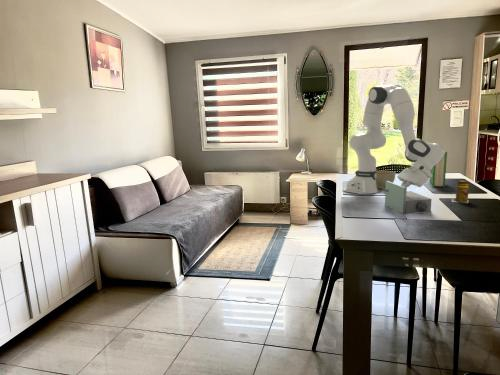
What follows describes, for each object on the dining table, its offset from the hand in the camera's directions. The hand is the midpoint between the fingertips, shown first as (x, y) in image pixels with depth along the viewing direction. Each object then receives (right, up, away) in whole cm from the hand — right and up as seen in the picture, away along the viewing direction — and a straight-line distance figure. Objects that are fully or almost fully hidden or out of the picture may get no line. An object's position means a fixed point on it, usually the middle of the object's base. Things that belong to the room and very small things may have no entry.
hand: (401, 188), depth 201 cm
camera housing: (+5, -11, +3) cm, 12 cm away
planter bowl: (+9, 0, +55) cm, 56 cm away
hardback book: (+49, +2, +58) cm, 76 cm away
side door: (-4, -11, +1) cm, 12 cm away
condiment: (+39, -8, +13) cm, 42 cm away
